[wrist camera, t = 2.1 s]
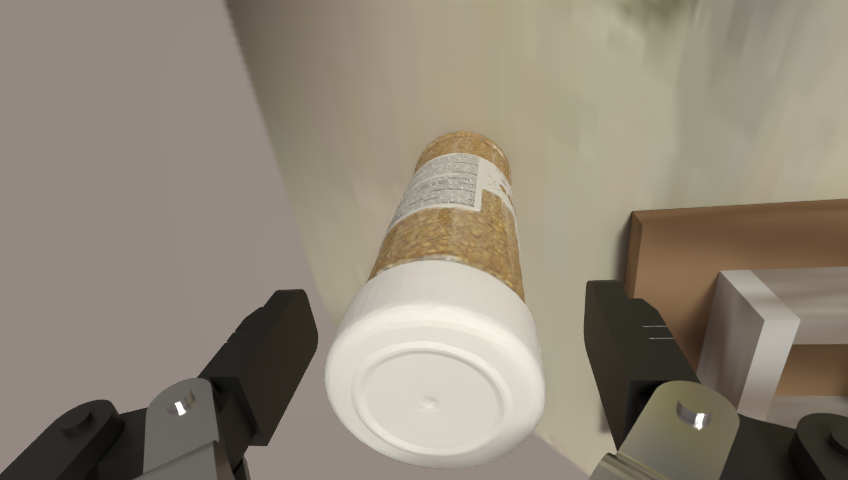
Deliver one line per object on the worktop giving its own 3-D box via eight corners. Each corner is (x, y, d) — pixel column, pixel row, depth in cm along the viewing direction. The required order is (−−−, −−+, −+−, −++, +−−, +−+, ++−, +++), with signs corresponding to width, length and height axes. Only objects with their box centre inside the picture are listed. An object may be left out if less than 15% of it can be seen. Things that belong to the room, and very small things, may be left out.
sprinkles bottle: (514, 214, 21) (552, 481, 9) (422, 223, 22) (347, 477, 10) (507, 120, 19) (545, 307, 7) (406, 134, 19) (286, 320, 8)
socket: (632, 211, 20) (674, 267, 15) (1055, 186, 17) (1250, 246, 13) (609, 417, 26) (634, 498, 22) (914, 423, 24) (1012, 516, 19)
